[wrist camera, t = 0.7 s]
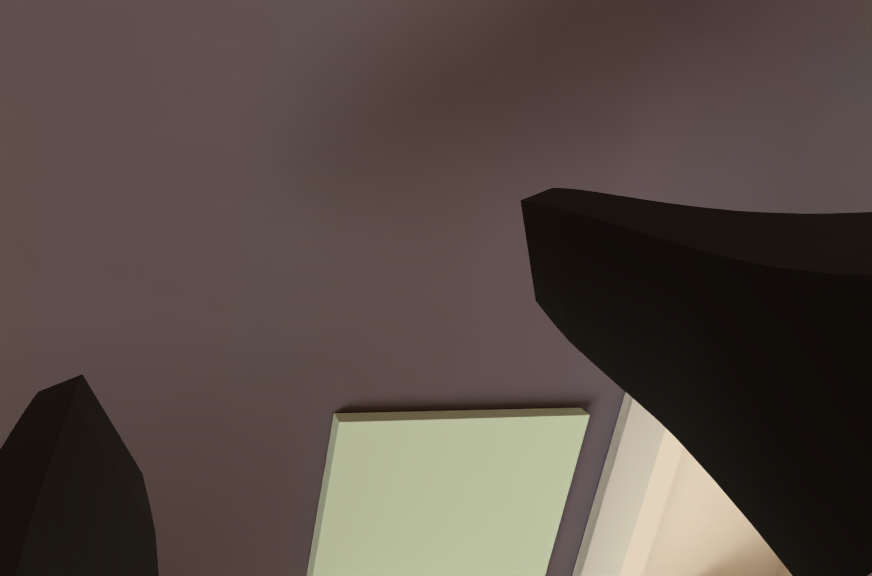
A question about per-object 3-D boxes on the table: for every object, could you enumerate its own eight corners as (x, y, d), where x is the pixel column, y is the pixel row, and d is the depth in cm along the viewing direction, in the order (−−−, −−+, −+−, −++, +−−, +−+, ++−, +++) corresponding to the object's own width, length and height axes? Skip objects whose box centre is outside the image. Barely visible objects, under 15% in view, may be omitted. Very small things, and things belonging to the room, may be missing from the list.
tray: (742, 673, 40) (779, 711, 37) (527, 727, 33) (557, 776, 31) (881, 313, 34) (934, 333, 32) (652, 298, 28) (698, 323, 25)
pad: (513, 655, 31) (519, 666, 31) (285, 700, 27) (288, 714, 26) (580, 407, 28) (589, 414, 27) (333, 413, 24) (339, 422, 23)
